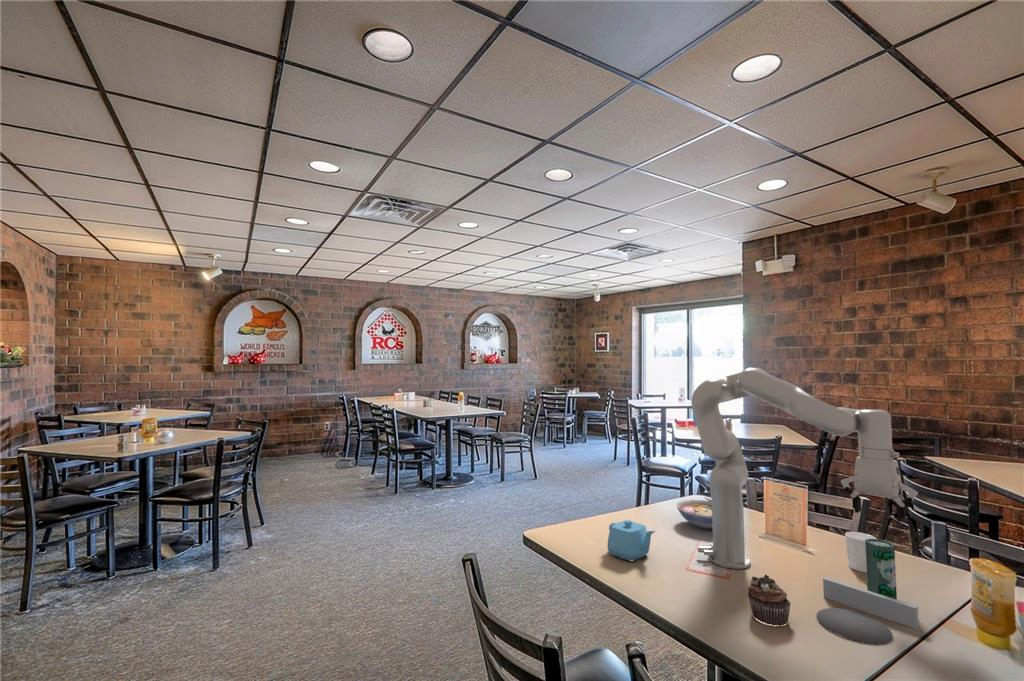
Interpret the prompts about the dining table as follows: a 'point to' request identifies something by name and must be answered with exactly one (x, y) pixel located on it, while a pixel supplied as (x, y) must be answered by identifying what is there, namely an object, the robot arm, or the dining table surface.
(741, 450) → the robot arm
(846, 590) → the panel
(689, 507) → the ramen bowl
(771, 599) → the cupcake
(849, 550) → the white cup
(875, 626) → the mat
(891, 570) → the can
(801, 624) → the dining table surface
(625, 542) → the teapot
